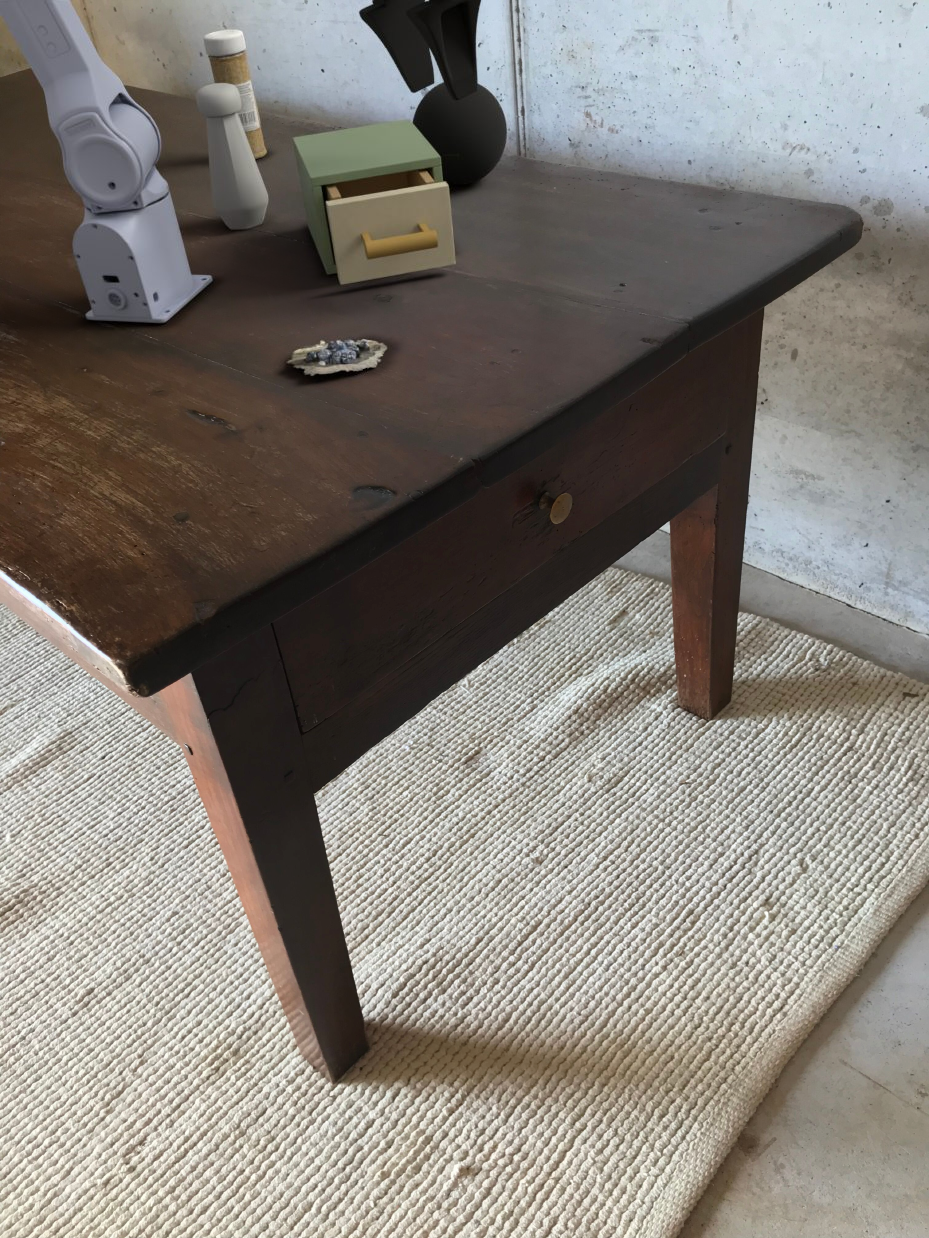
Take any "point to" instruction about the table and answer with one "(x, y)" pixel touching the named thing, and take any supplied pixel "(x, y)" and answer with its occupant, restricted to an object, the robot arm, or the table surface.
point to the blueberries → (338, 356)
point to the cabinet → (356, 166)
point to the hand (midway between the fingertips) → (443, 91)
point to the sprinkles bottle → (236, 80)
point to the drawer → (389, 225)
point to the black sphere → (463, 132)
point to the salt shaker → (231, 159)
